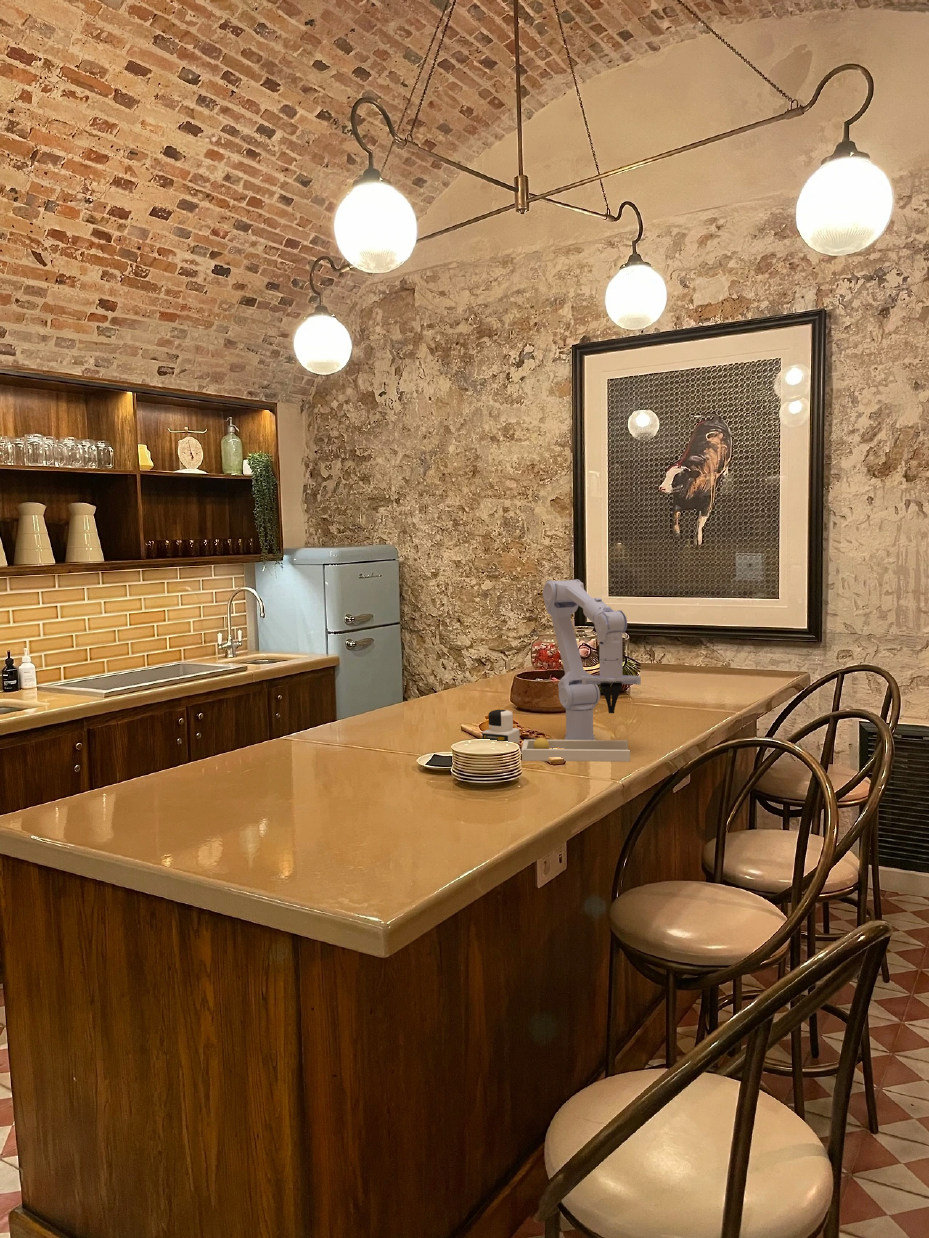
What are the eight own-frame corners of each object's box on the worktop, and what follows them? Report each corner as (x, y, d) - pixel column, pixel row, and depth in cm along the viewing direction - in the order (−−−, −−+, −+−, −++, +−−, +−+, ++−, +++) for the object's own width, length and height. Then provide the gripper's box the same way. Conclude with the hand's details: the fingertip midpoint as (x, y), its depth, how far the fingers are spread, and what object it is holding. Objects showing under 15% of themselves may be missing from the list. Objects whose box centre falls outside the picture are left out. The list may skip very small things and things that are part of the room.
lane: (524, 750, 245) (524, 739, 244) (627, 751, 241) (627, 740, 241) (521, 762, 233) (521, 750, 233) (630, 763, 230) (630, 750, 229)
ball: (548, 738, 242) (533, 735, 241) (552, 740, 238) (537, 737, 237) (545, 753, 242) (530, 750, 241) (549, 755, 238) (534, 753, 237)
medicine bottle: (482, 759, 236) (481, 712, 235) (494, 753, 242) (493, 707, 241) (508, 762, 233) (507, 714, 232) (520, 756, 239) (519, 709, 238)
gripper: (581, 661, 235) (582, 715, 236) (641, 661, 233) (641, 715, 234) (581, 657, 242) (582, 710, 243) (639, 657, 240) (639, 710, 241)
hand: (611, 712), depth 239 cm, fingers closed
